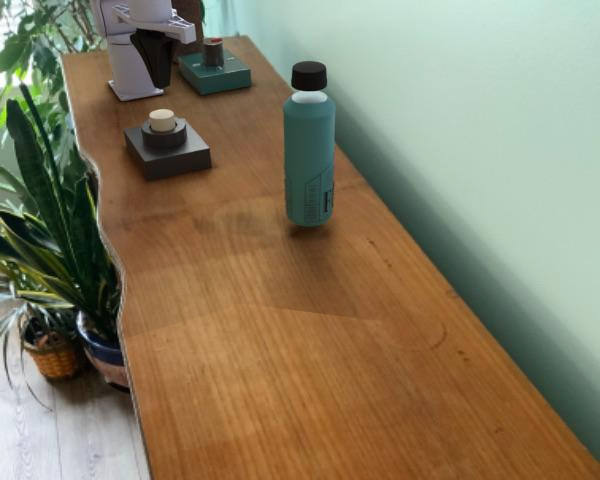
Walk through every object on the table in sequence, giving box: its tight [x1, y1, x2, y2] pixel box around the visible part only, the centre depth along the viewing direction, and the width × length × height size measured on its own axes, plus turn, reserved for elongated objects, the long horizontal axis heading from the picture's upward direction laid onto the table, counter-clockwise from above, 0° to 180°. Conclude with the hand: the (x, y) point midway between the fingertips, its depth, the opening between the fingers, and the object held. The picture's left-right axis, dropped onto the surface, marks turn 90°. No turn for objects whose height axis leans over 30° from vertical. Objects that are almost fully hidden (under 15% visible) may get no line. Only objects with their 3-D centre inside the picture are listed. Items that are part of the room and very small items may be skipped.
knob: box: [201, 36, 224, 66], centre depth 116 cm, size 4×4×4 cm
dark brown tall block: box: [171, 0, 205, 65], centre depth 120 cm, size 8×7×20 cm
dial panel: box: [178, 48, 252, 96], centre depth 118 cm, size 12×10×3 cm
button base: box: [122, 116, 213, 182], centre depth 96 cm, size 12×10×5 cm
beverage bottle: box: [282, 60, 337, 227], centre depth 77 cm, size 6×7×20 cm
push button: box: [148, 108, 176, 132], centre depth 93 cm, size 4×4×2 cm
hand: (162, 86), depth 92 cm, fingers closed
